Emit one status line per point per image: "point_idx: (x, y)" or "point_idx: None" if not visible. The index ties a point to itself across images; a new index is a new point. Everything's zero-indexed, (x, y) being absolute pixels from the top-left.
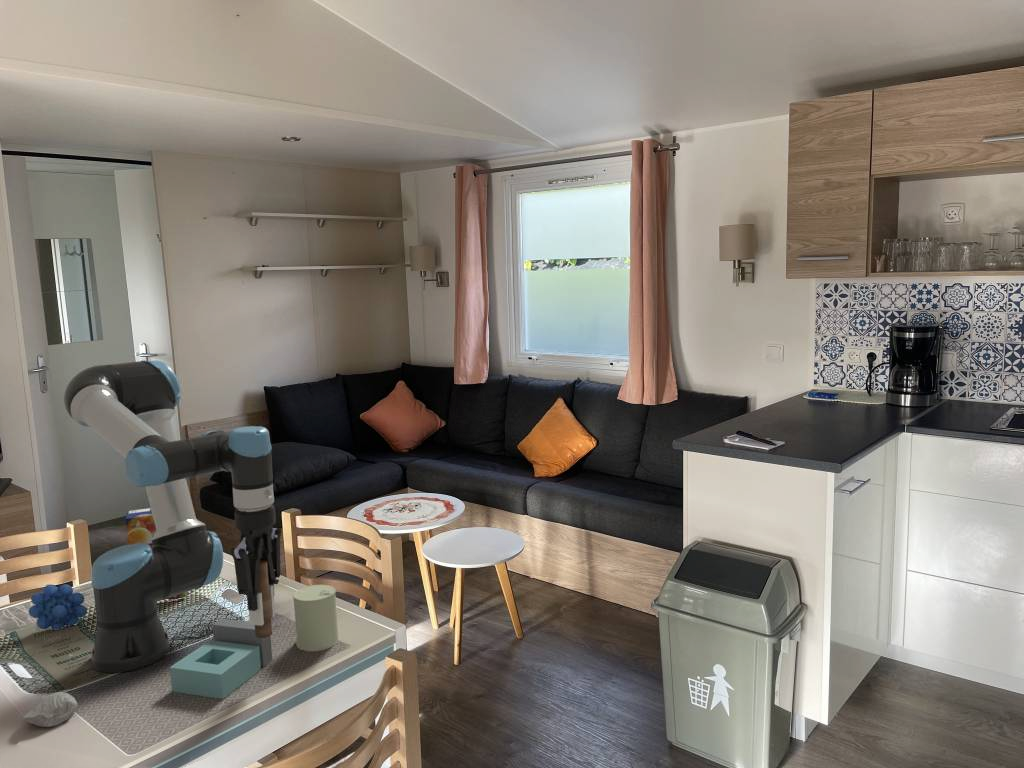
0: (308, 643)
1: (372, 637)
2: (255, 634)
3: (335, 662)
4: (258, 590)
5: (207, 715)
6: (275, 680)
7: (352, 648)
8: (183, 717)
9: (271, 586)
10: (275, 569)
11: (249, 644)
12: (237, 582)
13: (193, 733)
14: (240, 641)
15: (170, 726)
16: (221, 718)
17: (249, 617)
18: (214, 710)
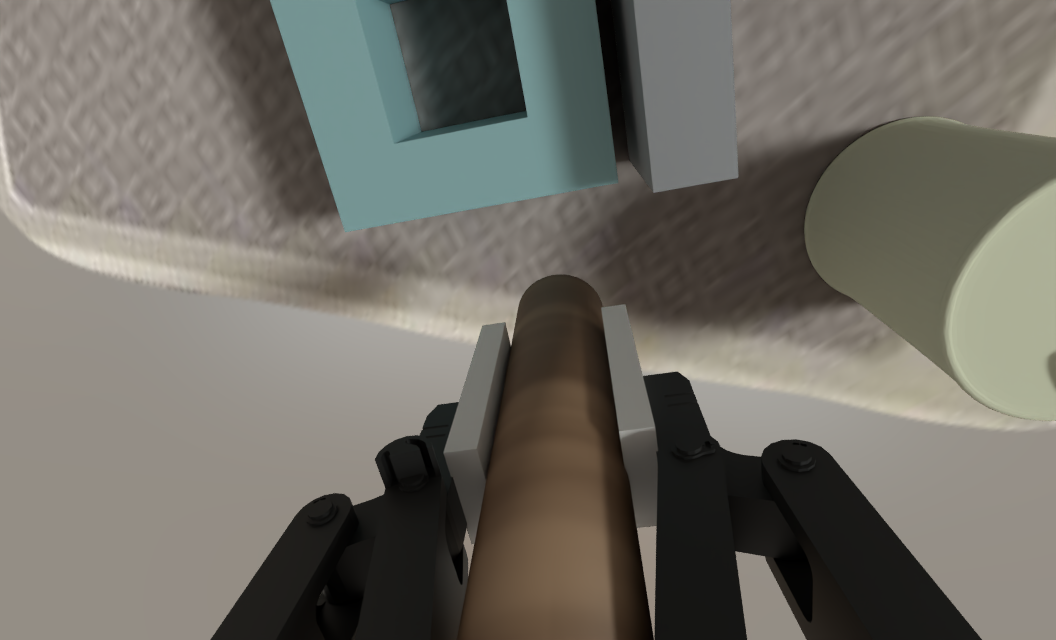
0: (821, 249)
1: None
2: (522, 298)
3: (750, 385)
4: (467, 563)
5: (284, 240)
6: None
7: (870, 375)
8: (227, 172)
9: (641, 526)
10: (793, 597)
11: (632, 99)
12: (235, 610)
13: (201, 282)
14: (626, 38)
15: (171, 178)
16: (301, 296)
17: (476, 346)
18: (316, 237)
